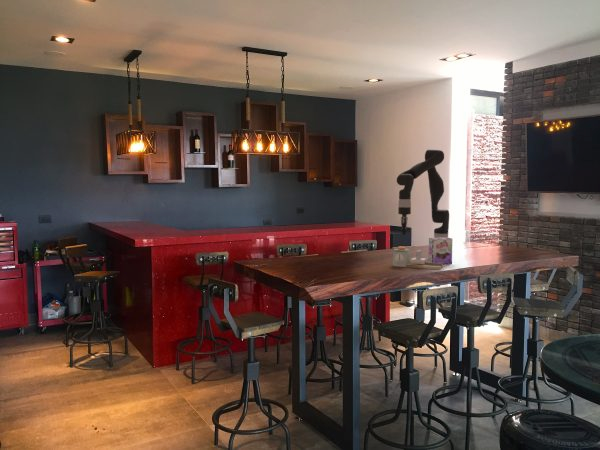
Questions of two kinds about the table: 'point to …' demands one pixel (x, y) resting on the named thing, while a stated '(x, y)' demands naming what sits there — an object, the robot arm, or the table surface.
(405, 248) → the button
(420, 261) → the carriage
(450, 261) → the candy box
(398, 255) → the gauge cabinet
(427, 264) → the rail board
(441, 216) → the robot arm
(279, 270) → the table surface
